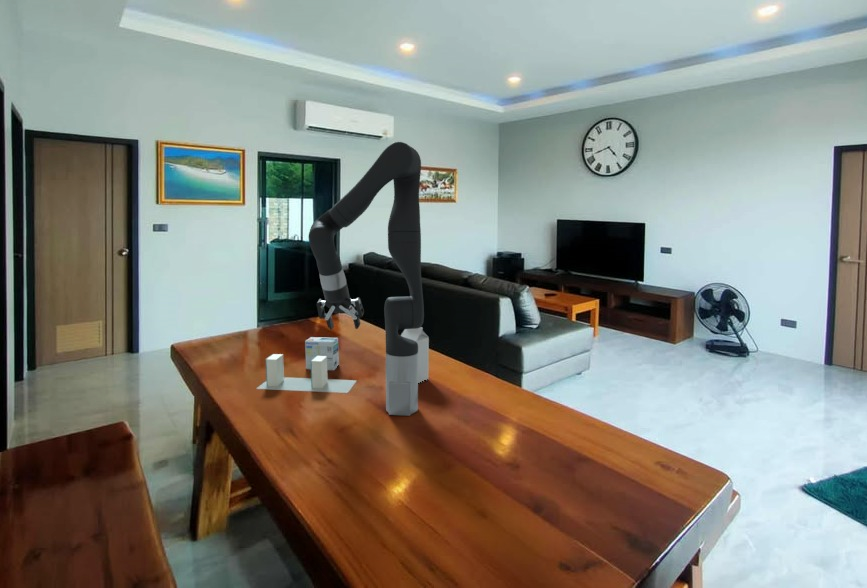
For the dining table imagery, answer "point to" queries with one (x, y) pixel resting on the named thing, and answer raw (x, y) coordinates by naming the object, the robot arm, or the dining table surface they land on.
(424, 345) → the milk carton
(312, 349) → the light bulb box
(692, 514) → the dining table surface
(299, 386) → the runner
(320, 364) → the block
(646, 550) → the dining table surface
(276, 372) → the tile
